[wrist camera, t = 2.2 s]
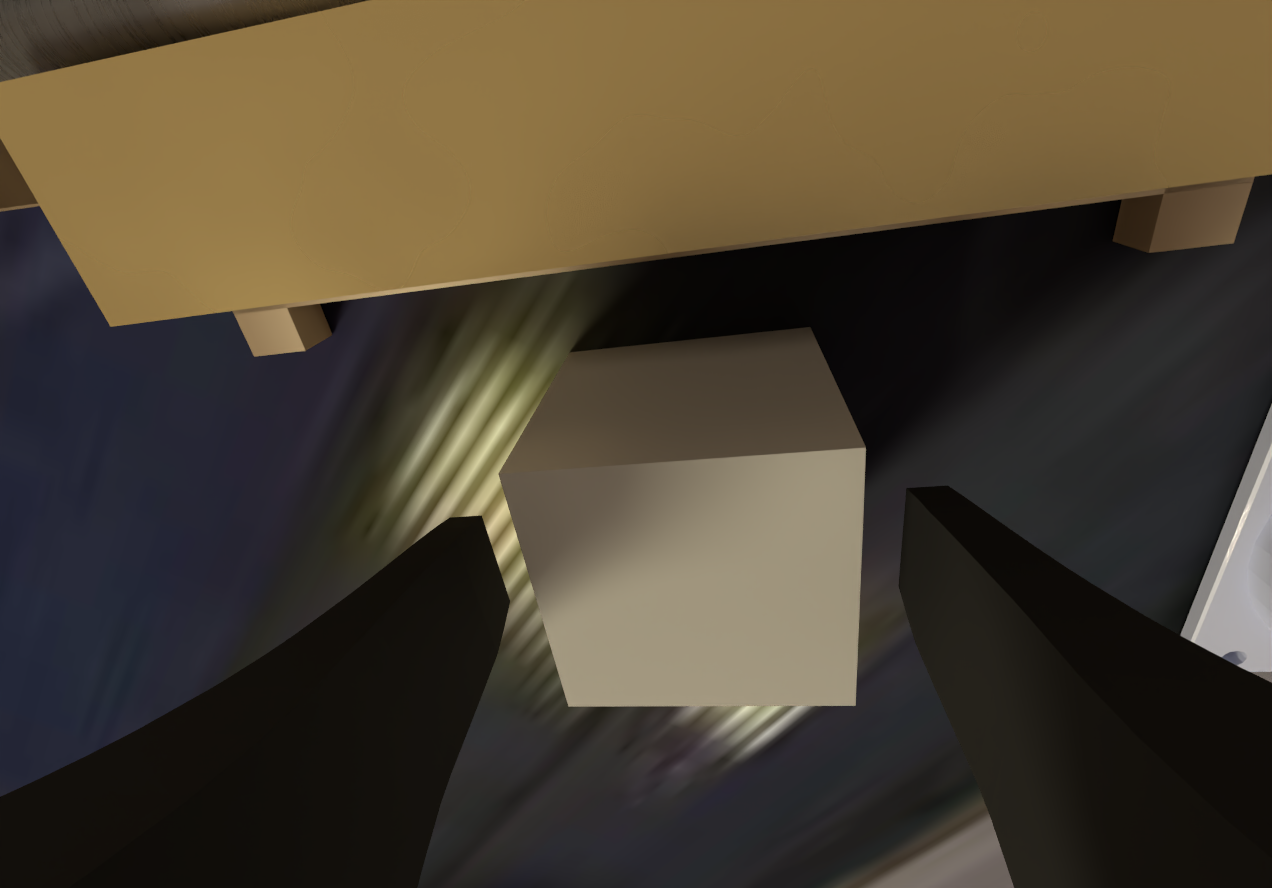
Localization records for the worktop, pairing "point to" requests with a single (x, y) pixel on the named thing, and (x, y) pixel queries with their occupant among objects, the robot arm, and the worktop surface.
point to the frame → (1141, 225)
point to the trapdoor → (586, 128)
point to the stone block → (695, 523)
